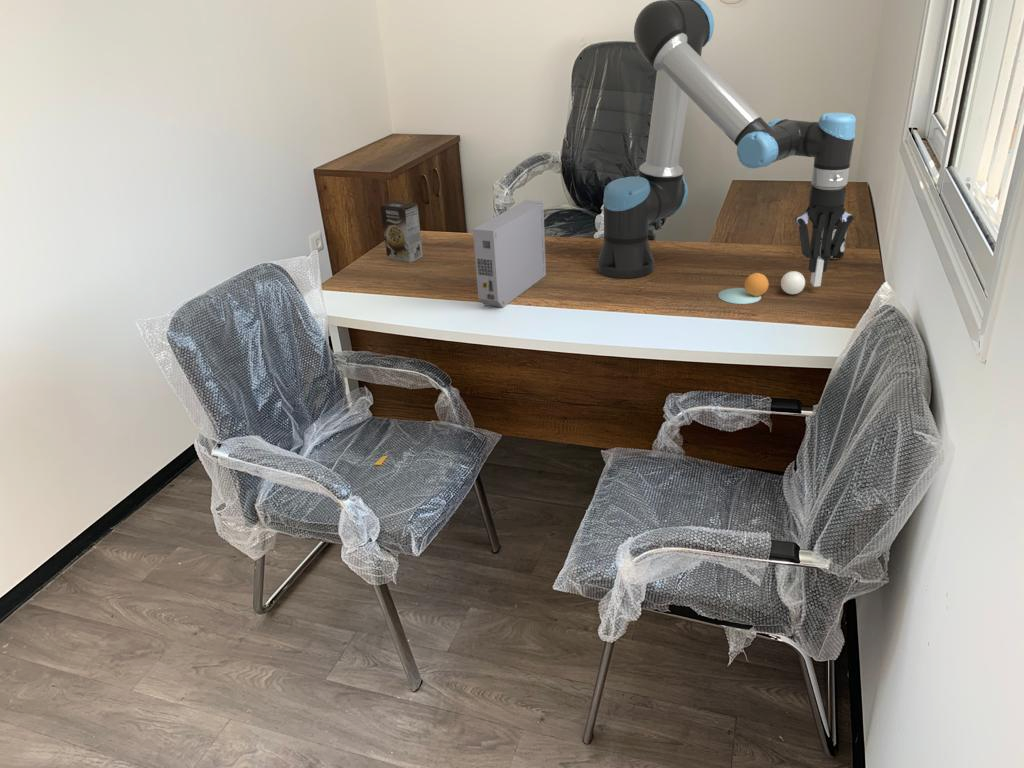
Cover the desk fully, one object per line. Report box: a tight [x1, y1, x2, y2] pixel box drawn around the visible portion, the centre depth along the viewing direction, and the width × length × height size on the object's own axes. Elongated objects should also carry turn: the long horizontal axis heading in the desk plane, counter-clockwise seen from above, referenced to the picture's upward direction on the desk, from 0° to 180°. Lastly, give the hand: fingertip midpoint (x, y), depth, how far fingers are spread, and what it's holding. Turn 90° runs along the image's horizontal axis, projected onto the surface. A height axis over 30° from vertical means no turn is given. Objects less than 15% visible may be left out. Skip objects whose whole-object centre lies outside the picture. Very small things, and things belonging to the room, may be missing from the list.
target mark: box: [717, 287, 762, 305], centre depth 183 cm, size 10×10×1 cm
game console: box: [472, 199, 547, 308], centre depth 191 cm, size 6×27×20 cm, turn 152°
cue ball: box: [780, 270, 806, 295], centre depth 182 cm, size 6×6×6 cm
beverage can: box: [818, 211, 849, 259], centre depth 201 cm, size 7×7×12 cm
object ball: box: [744, 272, 770, 296], centre depth 182 cm, size 6×6×6 cm
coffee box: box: [379, 200, 424, 264], centre depth 220 cm, size 9×6×16 cm
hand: (815, 284), depth 182 cm, fingers closed
